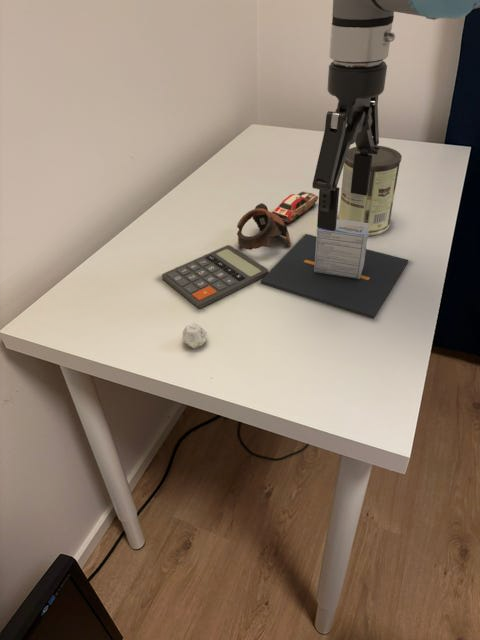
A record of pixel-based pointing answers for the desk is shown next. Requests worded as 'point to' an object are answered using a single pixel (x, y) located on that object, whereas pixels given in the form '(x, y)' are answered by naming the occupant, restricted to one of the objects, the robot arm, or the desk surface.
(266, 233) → the brown looped frame
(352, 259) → the medicine box
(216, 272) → the calculator
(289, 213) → the race car
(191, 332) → the game die
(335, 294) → the mat
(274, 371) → the desk surface
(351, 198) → the coffee can
